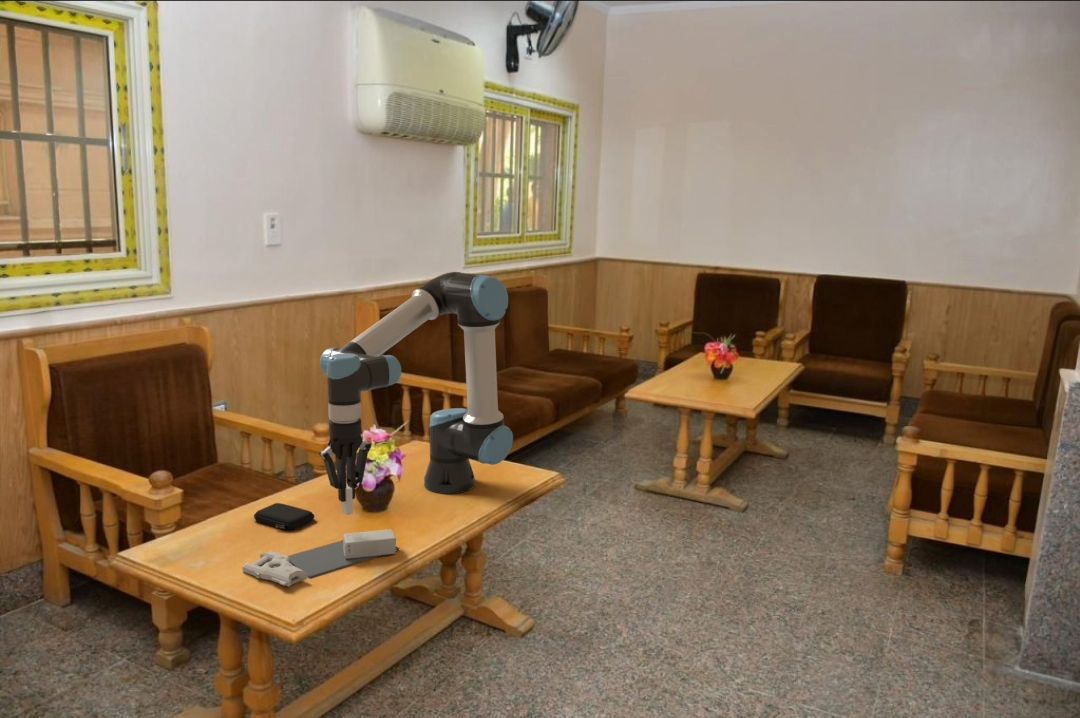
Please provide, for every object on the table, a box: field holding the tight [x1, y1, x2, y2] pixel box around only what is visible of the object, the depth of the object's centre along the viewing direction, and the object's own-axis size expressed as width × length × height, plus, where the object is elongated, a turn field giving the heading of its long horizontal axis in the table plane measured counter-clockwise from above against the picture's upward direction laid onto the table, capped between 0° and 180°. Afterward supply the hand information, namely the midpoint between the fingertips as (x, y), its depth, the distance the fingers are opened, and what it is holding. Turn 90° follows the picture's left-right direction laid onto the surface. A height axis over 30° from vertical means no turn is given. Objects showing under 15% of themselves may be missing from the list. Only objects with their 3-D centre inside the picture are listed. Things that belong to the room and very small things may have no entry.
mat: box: [288, 539, 401, 579], centre depth 204 cm, size 24×13×1 cm, turn 132°
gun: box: [242, 551, 309, 588], centre depth 193 cm, size 18×4×10 cm
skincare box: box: [342, 528, 397, 559], centre depth 204 cm, size 6×4×12 cm
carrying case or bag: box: [253, 502, 315, 531], centre depth 222 cm, size 11×3×15 cm
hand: (347, 512), depth 204 cm, fingers closed
